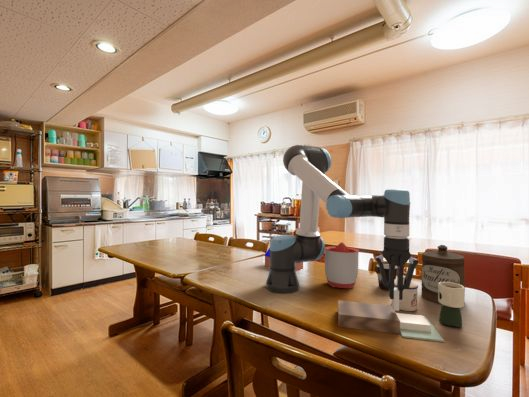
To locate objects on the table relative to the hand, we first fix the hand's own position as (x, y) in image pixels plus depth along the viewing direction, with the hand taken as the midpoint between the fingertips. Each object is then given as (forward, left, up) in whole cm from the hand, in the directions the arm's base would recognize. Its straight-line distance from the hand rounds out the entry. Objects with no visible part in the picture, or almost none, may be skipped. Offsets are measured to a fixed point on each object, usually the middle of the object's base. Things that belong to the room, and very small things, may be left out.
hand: (395, 308), depth 89 cm
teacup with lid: (+7, +18, -5) cm, 20 cm away
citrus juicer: (-16, +37, -5) cm, 41 cm away
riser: (-9, 0, -5) cm, 10 cm away
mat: (+6, 0, -5) cm, 8 cm away
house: (-47, +60, -6) cm, 76 cm away
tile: (+5, 0, -5) cm, 7 cm away
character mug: (+18, +5, -5) cm, 19 cm away
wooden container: (+24, +30, -6) cm, 39 cm away
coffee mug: (+4, +39, -5) cm, 40 cm away
